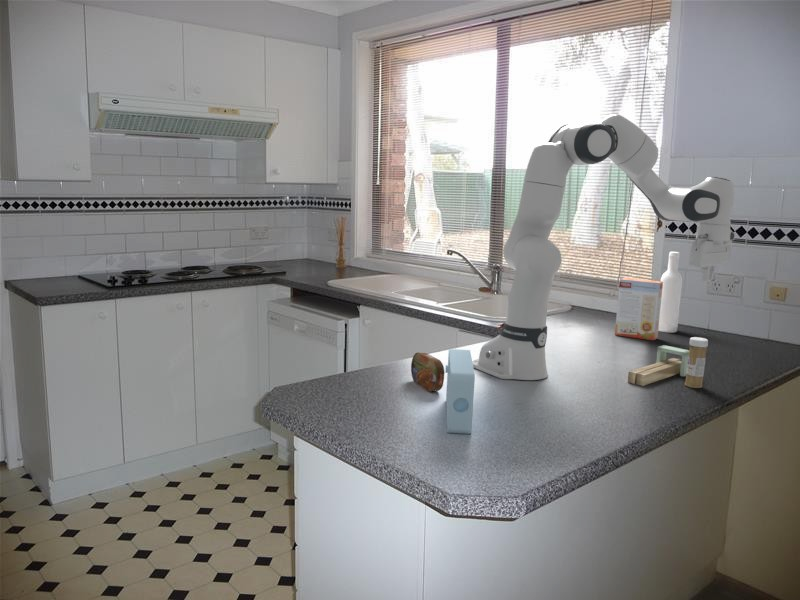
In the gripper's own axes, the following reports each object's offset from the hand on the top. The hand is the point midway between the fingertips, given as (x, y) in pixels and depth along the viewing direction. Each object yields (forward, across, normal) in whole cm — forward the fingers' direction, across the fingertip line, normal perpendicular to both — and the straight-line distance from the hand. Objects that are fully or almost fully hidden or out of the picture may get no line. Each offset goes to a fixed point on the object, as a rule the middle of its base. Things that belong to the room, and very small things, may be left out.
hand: (706, 280), depth 203 cm
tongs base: (+27, -18, +3) cm, 33 cm away
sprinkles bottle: (+27, -19, -8) cm, 34 cm away
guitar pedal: (+28, -91, +14) cm, 96 cm away
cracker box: (+27, +26, +33) cm, 50 cm away
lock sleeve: (+27, -10, +2) cm, 29 cm away
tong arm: (+27, -19, +1) cm, 33 cm away
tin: (+28, -80, +34) cm, 92 cm away
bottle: (+27, +47, +32) cm, 63 cm away
